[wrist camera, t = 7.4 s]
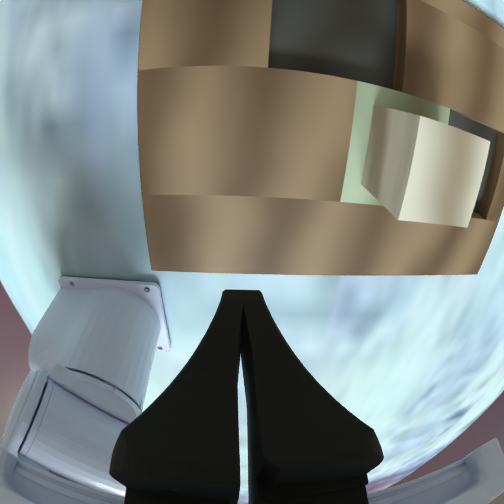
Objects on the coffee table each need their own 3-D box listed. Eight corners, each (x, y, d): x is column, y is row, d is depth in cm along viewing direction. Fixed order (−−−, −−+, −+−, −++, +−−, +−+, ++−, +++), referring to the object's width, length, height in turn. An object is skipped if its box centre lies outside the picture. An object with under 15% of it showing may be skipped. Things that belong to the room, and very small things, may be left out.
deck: (156, 258, 21) (151, 270, 19) (158, -48, 9) (152, -57, 8) (468, 265, 22) (477, 274, 21) (514, 45, 11) (526, 47, 10)
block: (360, 184, 17) (398, 220, 12) (373, 104, 14) (420, 115, 10) (424, 193, 17) (467, 227, 13) (438, 123, 14) (490, 141, 10)
